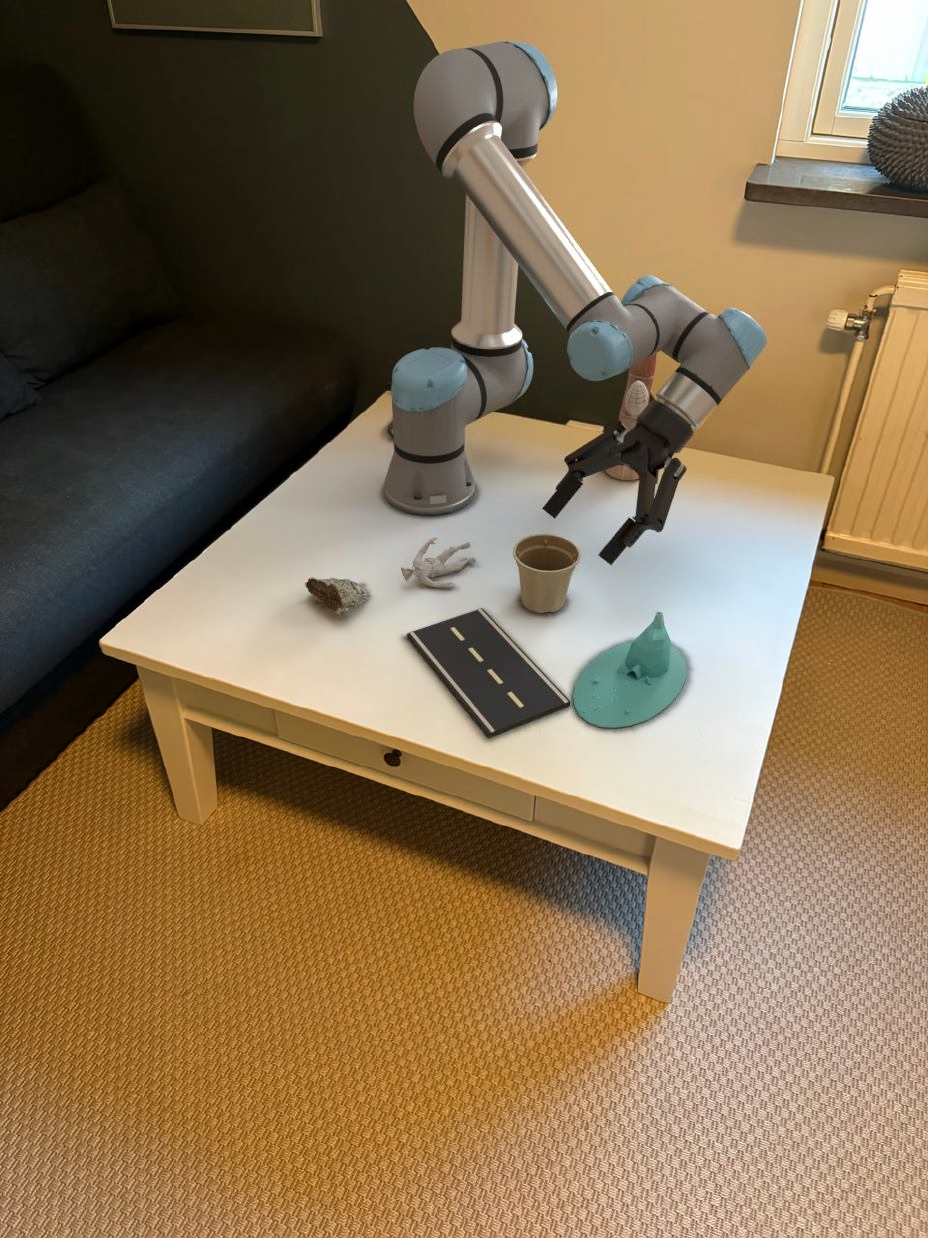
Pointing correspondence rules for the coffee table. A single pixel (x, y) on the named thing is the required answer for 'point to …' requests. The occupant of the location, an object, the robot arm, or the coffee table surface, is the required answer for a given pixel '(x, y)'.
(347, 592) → the rock sample
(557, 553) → the flower pot
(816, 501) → the coffee table surface
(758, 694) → the coffee table surface
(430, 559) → the soldier figure
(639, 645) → the diorama
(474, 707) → the road
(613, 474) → the vase
